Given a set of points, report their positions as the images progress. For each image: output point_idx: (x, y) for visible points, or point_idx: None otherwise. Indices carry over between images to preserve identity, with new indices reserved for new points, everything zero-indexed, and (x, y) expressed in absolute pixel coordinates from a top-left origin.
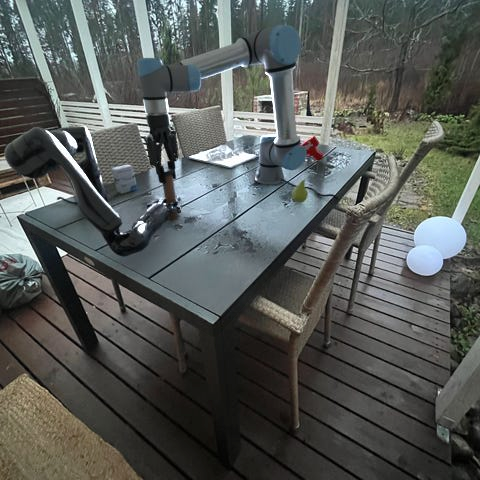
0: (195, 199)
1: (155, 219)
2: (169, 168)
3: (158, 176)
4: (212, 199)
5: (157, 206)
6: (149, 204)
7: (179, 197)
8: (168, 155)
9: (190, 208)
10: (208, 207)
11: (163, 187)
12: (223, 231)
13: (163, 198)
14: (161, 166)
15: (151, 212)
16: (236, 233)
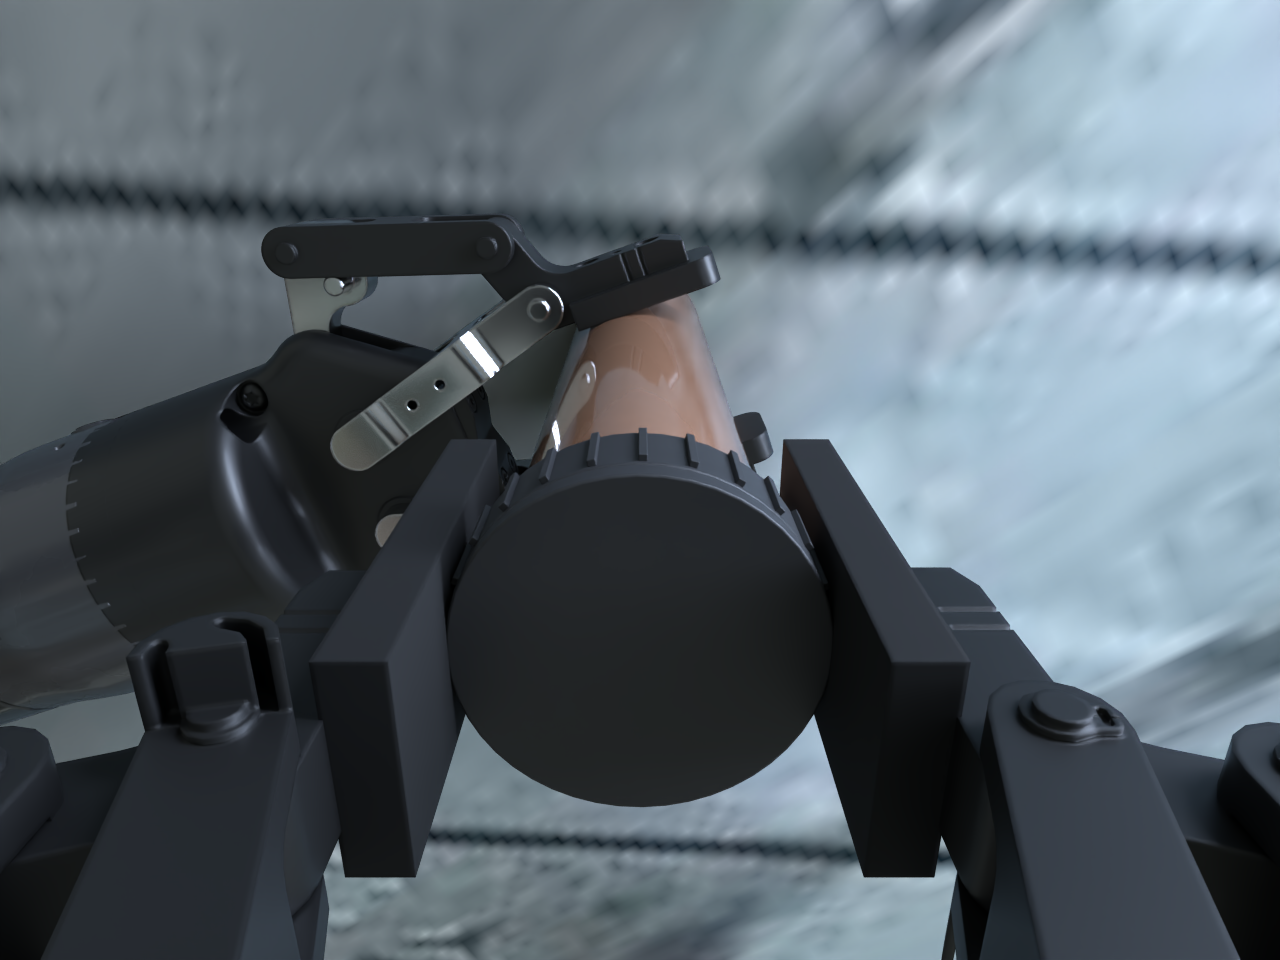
0: (1175, 253)
1: (52, 706)
2: (756, 674)
3: (418, 502)
4: (1240, 448)
5: (176, 617)
6: (295, 275)
7: (753, 460)
8: (1002, 937)
9: (903, 373)
10: (1009, 534)
11: (550, 413)
12: (644, 877)
13: (610, 262)
14: (344, 867)
15: (22, 667)
16: (669, 956)
